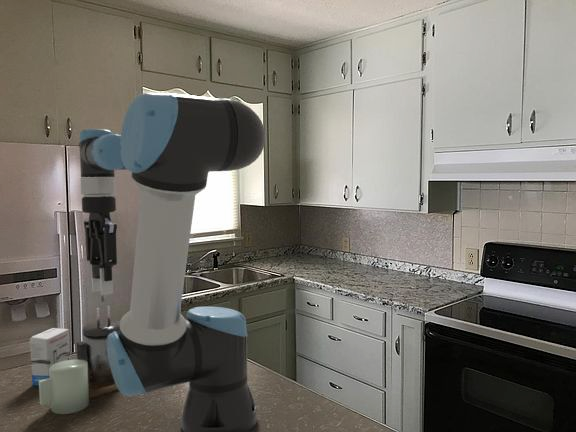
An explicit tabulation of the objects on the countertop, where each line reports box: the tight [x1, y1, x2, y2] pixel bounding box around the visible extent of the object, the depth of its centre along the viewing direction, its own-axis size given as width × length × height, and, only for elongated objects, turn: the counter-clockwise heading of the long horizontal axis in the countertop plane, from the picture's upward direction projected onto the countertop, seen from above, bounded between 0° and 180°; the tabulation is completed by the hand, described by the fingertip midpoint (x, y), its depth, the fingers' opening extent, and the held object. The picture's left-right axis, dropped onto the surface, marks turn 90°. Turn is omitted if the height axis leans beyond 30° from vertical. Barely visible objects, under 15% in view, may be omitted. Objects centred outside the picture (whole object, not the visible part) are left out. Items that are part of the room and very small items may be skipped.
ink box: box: [29, 327, 71, 387], centre depth 121 cm, size 9×5×12 cm, turn 168°
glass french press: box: [76, 305, 120, 399], centre depth 119 cm, size 13×13×18 cm
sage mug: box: [38, 358, 90, 415], centre depth 106 cm, size 8×10×9 cm
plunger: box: [91, 263, 106, 303], centre depth 118 cm, size 4×4×9 cm
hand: (102, 292), depth 118 cm, fingers closed on plunger, 4 cm apart
